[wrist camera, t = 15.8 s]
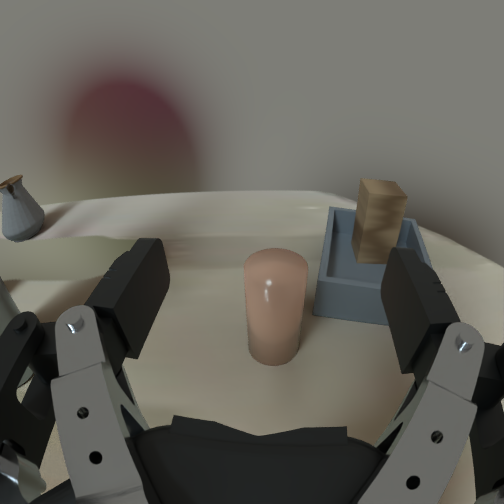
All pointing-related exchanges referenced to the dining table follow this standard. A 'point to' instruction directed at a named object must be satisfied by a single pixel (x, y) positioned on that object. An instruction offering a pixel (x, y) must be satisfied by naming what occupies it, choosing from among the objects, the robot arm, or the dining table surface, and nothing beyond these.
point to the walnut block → (377, 220)
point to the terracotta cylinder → (274, 304)
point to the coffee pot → (19, 211)
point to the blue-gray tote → (355, 271)
